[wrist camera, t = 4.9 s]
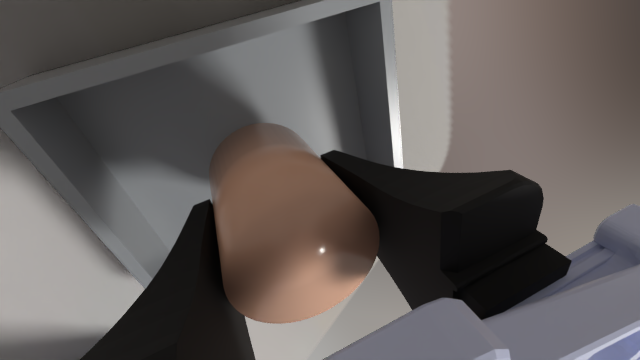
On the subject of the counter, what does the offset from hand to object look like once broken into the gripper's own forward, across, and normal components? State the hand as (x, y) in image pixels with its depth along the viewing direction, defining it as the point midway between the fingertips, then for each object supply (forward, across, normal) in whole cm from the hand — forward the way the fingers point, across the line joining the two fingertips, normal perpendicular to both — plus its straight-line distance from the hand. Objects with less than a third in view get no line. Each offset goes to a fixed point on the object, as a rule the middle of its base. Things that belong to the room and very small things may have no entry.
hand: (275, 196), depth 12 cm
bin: (+4, 0, 0) cm, 4 cm away
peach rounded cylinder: (+2, 0, 0) cm, 2 cm away
